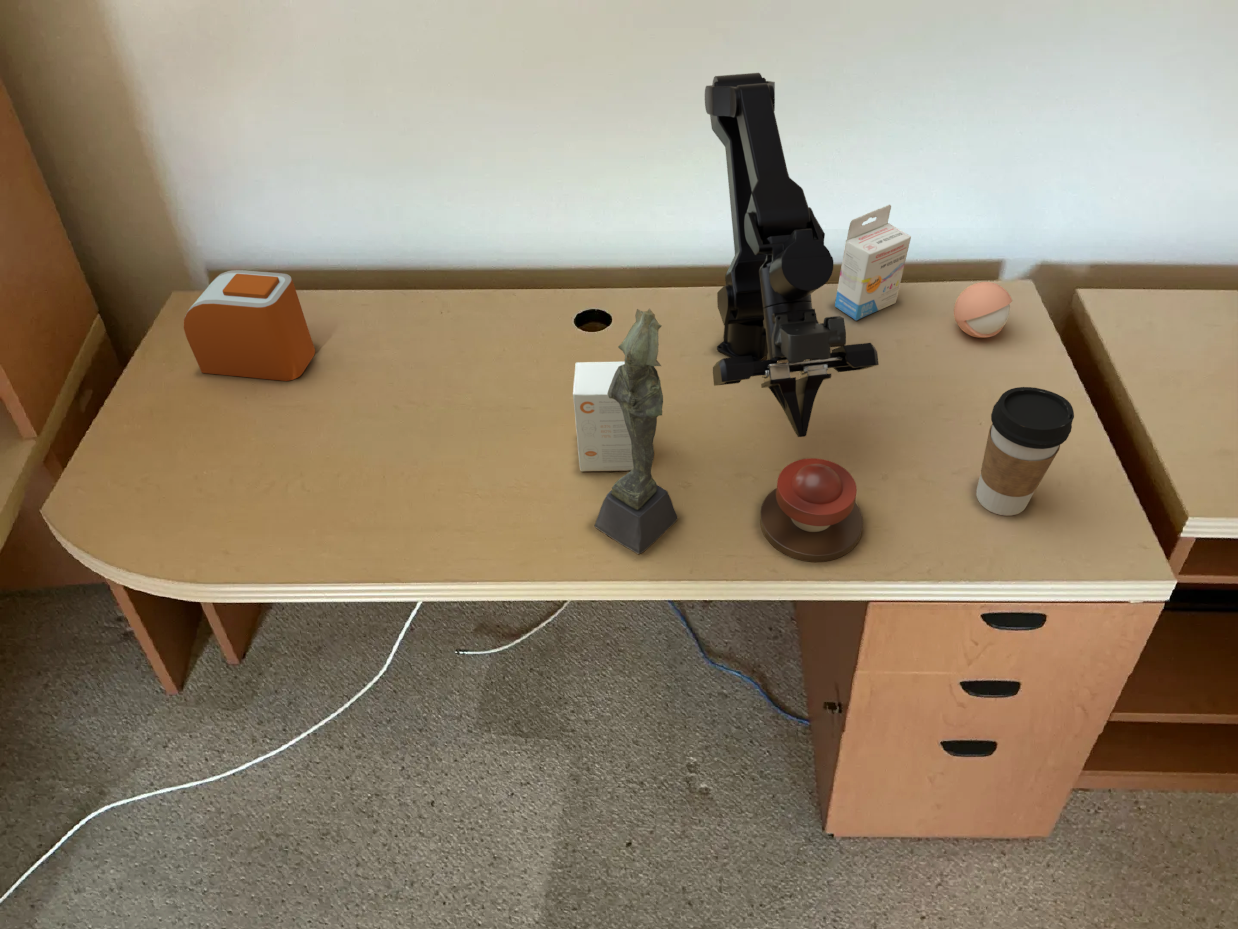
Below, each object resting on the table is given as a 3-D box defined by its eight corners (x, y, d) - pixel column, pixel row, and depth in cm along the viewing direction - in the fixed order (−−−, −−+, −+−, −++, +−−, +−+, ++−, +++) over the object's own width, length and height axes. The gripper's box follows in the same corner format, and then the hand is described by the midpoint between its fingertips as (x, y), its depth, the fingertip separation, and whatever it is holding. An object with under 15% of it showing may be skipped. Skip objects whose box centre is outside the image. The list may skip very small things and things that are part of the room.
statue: (593, 527, 113) (578, 324, 91) (633, 491, 117) (627, 288, 95) (639, 556, 109) (635, 352, 88) (679, 518, 113) (684, 314, 92)
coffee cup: (1027, 534, 110) (1066, 441, 99) (955, 506, 113) (987, 414, 103) (1045, 489, 115) (1085, 396, 104) (977, 464, 118) (1008, 372, 108)
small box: (642, 437, 123) (641, 359, 114) (642, 471, 119) (641, 393, 110) (580, 438, 124) (574, 360, 114) (578, 472, 119) (572, 394, 110)
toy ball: (977, 355, 134) (991, 309, 128) (936, 328, 138) (948, 283, 133) (1015, 335, 137) (1031, 289, 131) (974, 309, 141) (987, 264, 136)
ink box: (856, 322, 140) (872, 235, 129) (833, 306, 143) (847, 220, 132) (897, 303, 143) (916, 216, 132) (874, 287, 146) (891, 202, 135)
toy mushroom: (740, 528, 112) (745, 477, 106) (794, 472, 118) (802, 421, 112) (827, 579, 106) (838, 527, 100) (880, 517, 112) (893, 465, 106)
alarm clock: (320, 346, 139) (296, 268, 130) (297, 382, 133) (269, 303, 124) (228, 337, 141) (197, 260, 132) (201, 373, 136) (166, 295, 126)
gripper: (722, 302, 103) (738, 444, 103) (888, 285, 104) (903, 425, 104) (705, 318, 114) (720, 446, 114) (855, 302, 115) (869, 429, 115)
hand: (801, 436), depth 111 cm, fingers closed
